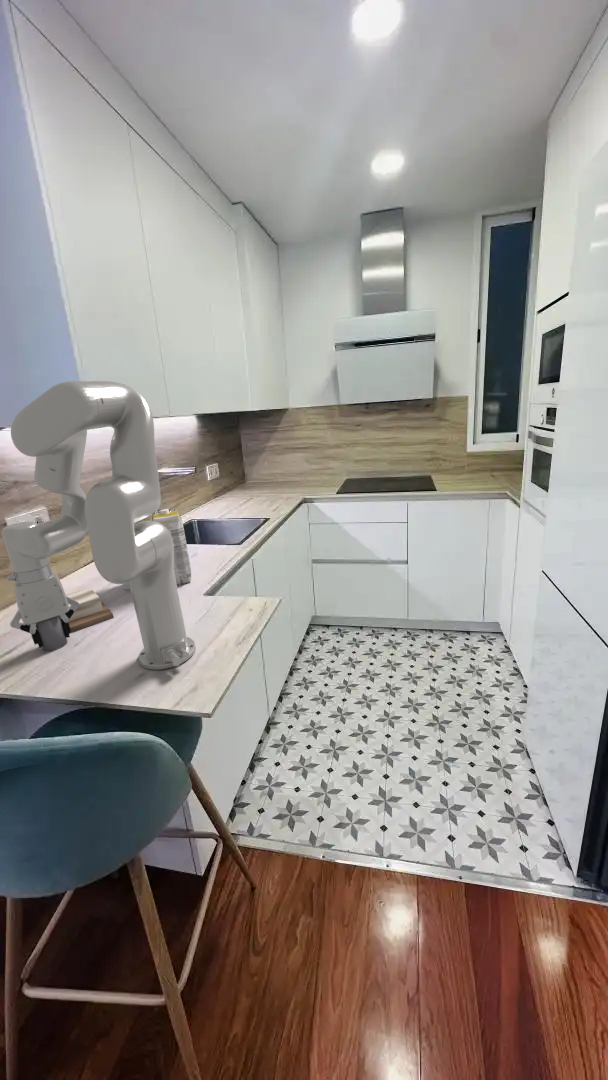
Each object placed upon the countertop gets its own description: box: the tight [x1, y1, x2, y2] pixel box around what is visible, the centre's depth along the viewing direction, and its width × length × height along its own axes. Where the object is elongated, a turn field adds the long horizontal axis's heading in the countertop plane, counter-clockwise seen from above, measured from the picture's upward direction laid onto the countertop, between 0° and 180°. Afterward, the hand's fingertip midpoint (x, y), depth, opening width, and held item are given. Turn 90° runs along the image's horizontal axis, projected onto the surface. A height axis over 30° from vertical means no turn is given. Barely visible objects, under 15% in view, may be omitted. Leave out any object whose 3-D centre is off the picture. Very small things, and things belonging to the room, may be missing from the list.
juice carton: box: [151, 508, 192, 586], centre depth 140 cm, size 9×8×24 cm
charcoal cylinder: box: [36, 616, 68, 652], centre depth 109 cm, size 6×6×8 cm
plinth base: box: [60, 587, 114, 634], centre depth 124 cm, size 18×13×6 cm
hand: (53, 639), depth 110 cm, fingers closed on charcoal cylinder, 5 cm apart
